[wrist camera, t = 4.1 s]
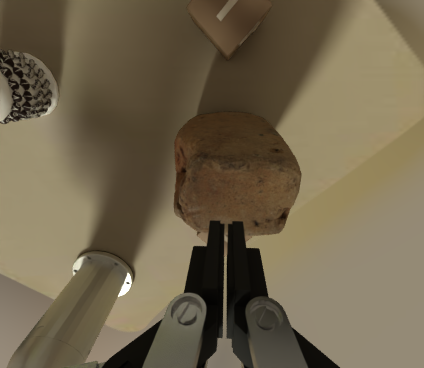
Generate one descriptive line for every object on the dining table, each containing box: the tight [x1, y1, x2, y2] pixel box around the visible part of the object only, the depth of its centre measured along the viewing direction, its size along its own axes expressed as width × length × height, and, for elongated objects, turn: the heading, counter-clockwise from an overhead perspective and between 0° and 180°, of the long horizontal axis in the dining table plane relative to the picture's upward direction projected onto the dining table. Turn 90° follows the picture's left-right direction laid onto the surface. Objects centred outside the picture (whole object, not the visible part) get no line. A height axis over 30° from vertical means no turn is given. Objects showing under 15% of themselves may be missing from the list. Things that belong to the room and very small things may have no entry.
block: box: [174, 112, 301, 236], centre depth 24 cm, size 11×8×20 cm
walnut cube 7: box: [186, 0, 272, 60], centre depth 24 cm, size 6×6×6 cm
